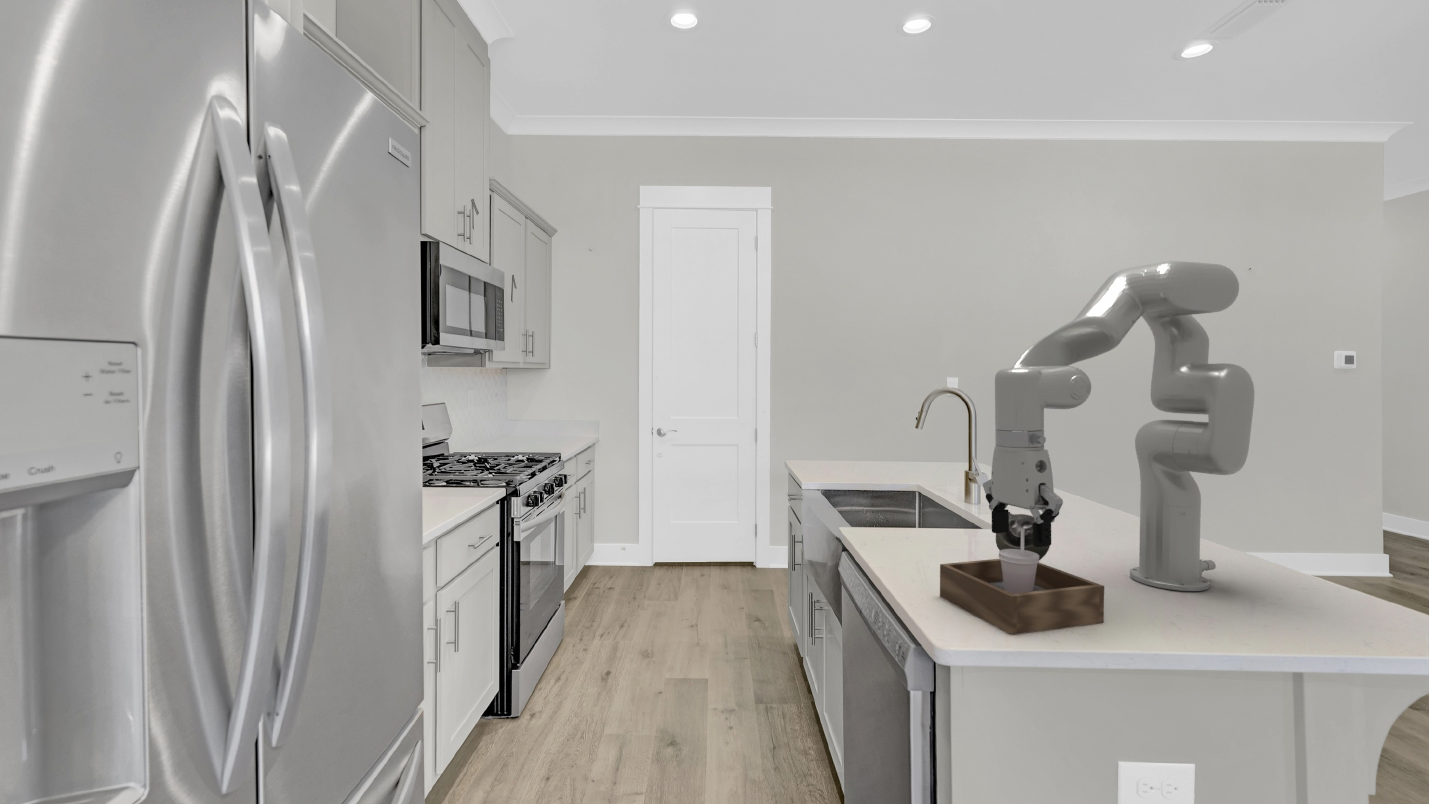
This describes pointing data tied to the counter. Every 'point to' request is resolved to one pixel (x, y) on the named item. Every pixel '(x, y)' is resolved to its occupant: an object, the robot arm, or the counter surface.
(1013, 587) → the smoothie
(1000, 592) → the wooden box
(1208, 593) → the counter surface
